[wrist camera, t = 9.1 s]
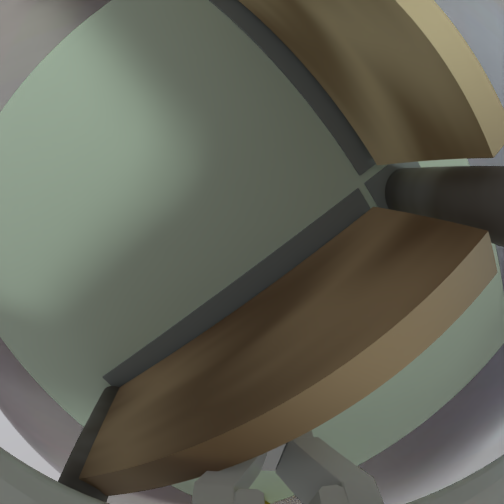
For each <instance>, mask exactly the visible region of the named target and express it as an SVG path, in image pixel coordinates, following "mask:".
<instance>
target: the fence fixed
mask: <svg viewBox="0 0 504 504" xmlns="http://www.w3.org/2000/svg"><path fill="white" fill-rule="evenodd" d="M238 1H240V2H241V3H242V4H243V5H244V6H245V7H247V8H248V9H249V10H250V11H251V12H252V13H253V14H254V15H255V16H257V17H258V18H259V19H260V20H261V21H262V22H263V23H264V24H265V25H266V26H267V27H268V28H269V29H270V30H271V31H272V32H273V33H274V34H275V35H276V36H277V37H278V38H279V39H280V40H281V41H282V42H283V43H284V44H285V45H286V46H287V47H288V48H289V49H290V50H291V51H292V52H293V53H294V54H295V56H296V57H297V58H298V59H299V60H300V61H301V62H302V63H303V64H304V66H305V67H306V68H307V69H308V70H309V71H310V73H311V74H312V75H313V76H314V77H315V78H316V80H317V81H318V82H319V83H320V85H321V86H322V87H323V88H324V90H325V91H326V92H327V93H328V95H329V96H330V97H331V98H332V100H333V101H334V102H335V104H336V105H337V106H338V108H339V109H340V110H341V112H342V113H343V114H344V116H345V117H346V119H347V120H348V121H349V123H350V124H351V126H352V127H353V129H354V130H355V132H356V133H357V134H358V136H359V137H360V139H361V140H362V142H363V144H364V145H365V147H366V148H367V150H368V151H369V153H370V154H371V156H372V158H373V159H374V161H375V163H376V164H377V165H386V164H396V163H406V162H418V161H431V160H446V159H466V158H494V157H495V155H496V154H497V153H498V152H499V150H500V149H501V148H502V147H503V145H504V109H503V107H502V105H501V102H500V100H499V98H498V96H497V94H496V92H495V90H494V88H493V86H492V84H491V82H490V81H489V79H488V77H487V75H486V73H485V72H484V70H483V68H482V66H481V65H480V63H479V61H478V60H477V58H476V56H475V55H474V53H473V52H472V50H471V49H470V47H469V46H468V44H467V43H466V41H465V40H464V38H463V37H462V35H461V34H460V33H459V31H458V30H457V29H456V27H455V26H454V25H453V23H452V22H451V21H450V19H449V18H448V17H447V16H446V14H445V13H444V12H443V11H442V9H441V8H440V7H439V6H438V5H437V4H436V2H435V1H434V0H238ZM385 199H386V203H387V206H388V208H389V209H390V210H396V211H401V212H406V213H411V214H417V215H421V216H426V217H431V218H436V219H440V220H445V221H449V222H454V223H458V224H462V225H467V226H471V227H475V228H479V229H483V230H487V231H488V232H489V235H490V239H491V243H492V244H496V245H499V246H502V247H504V166H444V167H419V168H402V169H398V170H396V171H394V172H393V173H392V174H391V175H390V176H389V178H388V180H387V183H386V186H385Z"/></svg>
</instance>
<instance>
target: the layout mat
mask: <svg viewBox="0 0 504 504" xmlns="http://www.w3.org/2000/svg"><path fill="white" fill-rule="evenodd" d="M444 166H470V165H469V162H468V160H467V158H466V159H446V160H431V161H418V162H406V163H396V164H386V165H377V164H376V163H375V161H374V159H373V158H372V156H371V154H370V153H369V151H368V150H367V148H366V147H365V145H364V144H363V142H362V140H361V139H360V137H359V136H358V134H357V133H356V132H355V130H354V129H353V127H352V126H351V124H350V123H349V121H348V120H347V119H346V117H345V116H344V114H343V113H342V112H341V110H340V109H339V108H338V106H337V105H336V104H335V102H334V101H333V100H332V98H331V97H330V96H329V95H328V93H327V92H326V91H325V90H324V88H323V87H322V86H321V85H320V83H319V82H318V81H317V80H316V78H315V77H314V76H313V75H312V74H311V73H310V71H309V70H308V69H307V68H306V67H305V66H304V64H303V63H302V62H301V61H300V60H299V59H298V58H297V57H296V56H295V54H294V53H293V52H292V51H291V50H290V49H289V48H288V47H287V46H286V45H285V44H284V43H283V42H282V41H281V40H280V39H279V38H278V37H277V36H276V35H275V34H274V33H273V32H272V31H271V30H270V29H269V28H268V27H267V26H266V25H265V24H264V23H263V22H262V21H261V20H260V19H259V18H258V17H257V16H255V15H254V14H253V13H252V12H251V11H250V10H249V9H248V8H247V7H245V6H244V5H243V4H242V3H241V2H240V1H238V0H111V1H110V2H109V3H107V4H106V5H105V6H103V7H102V8H100V9H99V10H98V11H96V12H95V13H94V14H93V15H91V16H90V17H89V18H88V19H86V20H85V21H84V22H83V23H81V24H80V25H79V26H78V27H77V28H76V29H74V30H73V31H72V32H71V33H70V34H69V35H68V36H67V37H66V38H64V39H63V40H62V41H61V42H60V43H59V44H58V45H57V46H56V47H55V48H54V49H53V50H52V51H51V52H50V53H49V54H48V55H47V56H46V57H45V58H44V59H43V60H42V61H41V62H40V63H39V65H38V66H37V67H36V68H35V69H34V70H33V71H32V72H31V74H30V75H29V76H28V77H27V78H26V79H25V81H24V82H23V83H22V84H21V85H20V87H19V88H18V89H17V90H16V92H15V93H14V94H13V96H12V97H11V98H10V100H9V101H8V102H7V104H6V105H5V107H4V108H3V109H2V111H1V112H0V337H1V339H2V340H3V342H4V343H5V344H6V346H7V347H8V348H9V350H10V351H11V352H12V353H13V355H14V356H15V357H16V359H17V360H18V361H19V362H20V363H21V365H22V366H23V367H24V368H25V369H26V371H27V372H28V373H29V374H30V375H31V376H32V377H33V378H34V380H35V381H36V382H37V383H38V384H39V385H40V386H41V387H42V388H43V389H44V390H45V391H46V392H47V393H48V394H49V395H50V396H51V397H52V398H53V399H54V400H55V401H56V402H57V403H58V404H59V405H60V406H61V407H62V408H63V409H64V410H65V411H66V412H67V413H68V414H69V415H71V416H72V417H73V418H74V419H75V420H76V421H77V422H79V423H80V424H81V425H82V426H83V427H84V426H85V424H86V422H87V420H88V419H89V417H90V415H91V413H92V411H93V409H94V407H95V405H96V403H97V402H98V400H99V398H100V396H101V394H102V392H103V391H104V389H105V388H106V387H108V386H117V387H121V386H123V385H124V384H126V383H127V382H129V381H130V380H132V379H134V378H135V377H137V376H138V375H140V374H142V373H143V372H145V371H146V370H148V369H149V368H151V367H152V366H154V365H155V364H157V363H159V362H160V361H162V360H163V359H165V358H166V357H168V356H169V355H171V354H172V353H174V352H175V351H177V350H178V349H180V348H181V347H183V346H184V345H186V344H187V343H189V342H190V341H192V340H193V339H195V338H196V337H198V336H199V335H201V334H202V333H204V332H205V331H206V330H208V329H209V328H211V327H212V326H214V325H215V324H217V323H218V322H219V321H221V320H222V319H224V318H225V317H227V316H228V315H230V314H231V313H232V312H234V311H235V310H237V309H238V308H239V307H241V306H242V305H244V304H245V303H247V302H248V301H249V300H251V299H252V298H254V297H255V296H256V295H258V294H259V293H261V292H262V291H263V290H265V289H266V288H267V287H269V286H270V285H272V284H273V283H274V282H276V281H277V280H278V279H280V278H281V277H282V276H284V275H285V274H287V273H288V272H289V271H291V270H292V269H293V268H295V267H296V266H297V265H299V264H300V263H301V262H303V261H304V260H305V259H307V258H308V257H309V256H311V255H312V254H313V253H315V252H316V251H317V250H319V249H320V248H321V247H323V246H324V245H325V244H326V243H328V242H329V241H330V240H332V239H333V238H334V237H336V236H337V235H338V234H339V233H341V232H342V231H343V230H345V229H346V228H347V227H348V226H350V225H351V224H352V223H353V222H355V221H356V220H357V219H359V218H360V217H361V216H362V215H364V214H365V213H366V212H367V211H369V210H370V209H371V208H372V207H379V208H385V209H389V208H388V206H387V203H386V199H385V186H386V183H387V180H388V178H389V176H390V175H391V174H392V173H393V172H394V171H396V170H398V169H402V168H419V167H444ZM491 244H492V243H491ZM492 248H493V252H494V257H495V262H496V267H497V274H496V275H495V276H494V278H493V279H492V280H491V281H490V283H489V284H488V285H487V286H486V288H485V289H484V290H483V291H482V292H481V294H480V295H479V296H478V297H477V298H476V299H475V300H474V302H473V303H472V304H471V305H470V306H469V307H468V308H467V309H466V310H465V312H464V313H463V314H462V315H461V316H460V317H459V318H458V319H457V320H456V321H455V322H454V323H453V324H452V325H451V326H450V327H449V328H448V329H447V330H446V331H445V332H444V333H443V334H442V335H441V336H440V337H439V338H438V339H437V340H436V341H435V342H434V343H432V344H431V345H430V346H429V347H428V348H427V349H426V350H425V351H424V352H422V353H421V354H420V355H419V356H418V357H417V358H416V359H414V360H413V361H412V362H411V363H410V364H408V365H407V366H406V367H405V368H403V369H402V370H401V371H400V372H398V373H397V374H396V375H395V376H393V377H392V378H391V379H389V380H388V381H387V382H386V383H384V384H383V385H381V386H380V387H379V388H377V389H376V390H375V391H373V392H372V393H370V394H369V395H367V396H366V397H365V398H363V399H362V400H360V401H359V402H357V403H356V404H354V405H353V406H351V407H350V408H348V409H346V410H345V411H343V412H342V413H340V414H338V415H337V416H335V417H333V418H332V419H330V420H328V421H327V422H325V423H323V424H322V425H320V426H318V427H316V428H314V429H313V430H312V433H313V437H319V438H320V439H321V440H323V441H324V442H325V443H327V444H328V445H329V446H330V447H332V448H333V449H334V450H336V451H337V452H338V453H340V454H341V455H342V456H344V457H345V458H346V459H348V460H349V461H351V462H352V463H353V464H355V465H356V466H358V465H360V464H362V463H363V462H365V461H367V460H369V459H370V458H372V457H374V456H375V455H377V454H379V453H380V452H382V451H383V450H385V449H387V448H388V447H390V446H391V445H393V444H394V443H396V442H397V441H399V440H400V439H402V438H403V437H404V436H406V435H407V434H409V433H410V432H411V431H413V430H414V429H415V428H417V427H418V426H419V425H421V424H422V423H423V422H425V421H426V420H427V419H428V418H430V417H431V416H432V415H433V414H435V413H436V412H437V411H438V410H439V409H440V408H442V407H443V406H444V405H445V404H446V403H447V402H448V401H450V400H451V399H452V398H453V397H454V396H455V395H456V394H457V393H458V392H459V391H460V390H461V389H463V388H464V387H465V386H466V385H467V384H468V383H469V382H470V381H471V380H472V379H473V378H474V377H475V376H476V374H477V373H478V372H479V371H480V370H481V369H482V368H483V367H484V366H485V365H486V364H487V363H488V361H489V360H490V359H491V358H492V357H493V356H494V355H495V353H496V352H497V351H498V350H499V349H500V347H501V346H502V345H503V344H504V292H503V284H502V278H501V272H500V266H499V261H498V256H497V251H496V246H495V244H492ZM199 478H200V477H199ZM199 478H195V479H192V480H188V481H184V482H181V483H177V484H173V485H171V486H173V487H175V488H177V489H179V490H181V491H183V492H185V493H187V494H189V495H191V496H193V489H194V482H195V481H196V480H197V479H199ZM249 489H258V490H260V491H261V492H263V493H264V500H265V501H267V502H269V503H270V504H271V503H274V502H277V501H280V500H283V499H285V498H288V497H291V496H293V495H295V494H294V493H293V492H292V491H291V490H290V489H289V488H288V487H287V485H286V484H285V483H284V482H283V481H282V480H281V478H280V477H279V476H278V475H277V474H276V472H275V471H261V472H260V474H259V475H258V477H257V478H256V479H255V481H254V482H253V483H252V485H251V486H250V487H249Z"/></svg>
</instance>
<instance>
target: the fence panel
mask: <svg viewBox="0 0 504 504" xmlns="http://www.w3.org/2000/svg"><path fill="white" fill-rule="evenodd" d="M496 274H497V267H496V262H495V257H494V252H493V248H492V244H491V239H490V235H489V232H488V231H487V230H483V229H479V228H475V227H471V226H467V225H462V224H458V223H454V222H449V221H445V220H440V219H436V218H431V217H426V216H421V215H417V214H411V213H406V212H401V211H396V210H390V209H385V208H379V207H372V208H371V209H370V210H369V211H367V212H366V213H365V214H364V215H362V216H361V217H360V218H359V219H357V220H356V221H355V222H353V223H352V224H351V225H350V226H348V227H347V228H346V229H345V230H343V231H342V232H341V233H339V234H338V235H337V236H336V237H334V238H333V239H332V240H330V241H329V242H328V243H326V244H325V245H324V246H323V247H321V248H320V249H319V250H317V251H316V252H315V253H313V254H312V255H311V256H309V257H308V258H307V259H305V260H304V261H303V262H301V263H300V264H299V265H297V266H296V267H295V268H293V269H292V270H291V271H289V272H288V273H287V274H285V275H284V276H282V277H281V278H280V279H278V280H277V281H276V282H274V283H273V284H272V285H270V286H269V287H267V288H266V289H265V290H263V291H262V292H261V293H259V294H258V295H256V296H255V297H254V298H252V299H251V300H249V301H248V302H247V303H245V304H244V305H242V306H241V307H239V308H238V309H237V310H235V311H234V312H232V313H231V314H230V315H228V316H227V317H225V318H224V319H222V320H221V321H219V322H218V323H217V324H215V325H214V326H212V327H211V328H209V329H208V330H206V331H205V332H204V333H202V334H201V335H199V336H198V337H196V338H195V339H193V340H192V341H190V342H189V343H187V344H186V345H184V346H183V347H181V348H180V349H178V350H177V351H175V352H174V353H172V354H171V355H169V356H168V357H166V358H165V359H163V360H162V361H160V362H159V363H157V364H155V365H154V366H152V367H151V368H149V369H148V370H146V371H145V372H143V373H142V374H140V375H138V376H137V377H135V378H134V379H132V380H130V381H129V382H127V383H126V384H124V385H123V386H121V387H117V386H108V387H106V388H105V389H104V391H103V392H102V394H101V396H100V398H99V400H98V402H97V403H96V405H95V407H94V409H93V411H92V413H91V415H90V417H89V419H88V420H87V422H86V424H85V426H84V428H83V430H82V432H81V434H80V436H79V438H78V440H77V442H76V444H75V446H74V448H73V450H72V452H71V455H70V457H69V459H68V461H67V463H66V465H65V467H64V469H63V472H62V474H61V476H60V478H59V480H58V482H59V483H61V484H63V485H65V486H68V487H70V488H72V489H74V490H76V491H79V492H81V493H83V494H86V495H88V496H90V497H93V498H96V499H98V500H101V501H104V502H107V498H108V496H111V495H119V494H127V493H133V492H139V491H145V490H150V489H155V488H160V487H164V486H169V485H173V484H177V483H181V482H184V481H188V480H192V479H195V478H199V477H201V476H202V475H203V474H204V473H205V472H206V471H220V470H223V469H226V468H229V467H232V466H234V465H237V464H240V463H242V462H245V461H247V460H250V459H252V458H255V457H257V456H259V455H262V454H264V453H266V452H268V451H271V450H273V449H275V448H277V447H279V446H281V445H283V444H286V443H288V442H290V441H292V440H294V439H296V438H298V437H300V436H301V435H303V434H305V433H307V432H309V431H311V430H313V429H314V428H316V427H318V426H320V425H322V424H323V423H325V422H327V421H328V420H330V419H332V418H333V417H335V416H337V415H338V414H340V413H342V412H343V411H345V410H346V409H348V408H350V407H351V406H353V405H354V404H356V403H357V402H359V401H360V400H362V399H363V398H365V397H366V396H367V395H369V394H370V393H372V392H373V391H375V390H376V389H377V388H379V387H380V386H381V385H383V384H384V383H386V382H387V381H388V380H389V379H391V378H392V377H393V376H395V375H396V374H397V373H398V372H400V371H401V370H402V369H403V368H405V367H406V366H407V365H408V364H410V363H411V362H412V361H413V360H414V359H416V358H417V357H418V356H419V355H420V354H421V353H422V352H424V351H425V350H426V349H427V348H428V347H429V346H430V345H431V344H432V343H434V342H435V341H436V340H437V339H438V338H439V337H440V336H441V335H442V334H443V333H444V332H445V331H446V330H447V329H448V328H449V327H450V326H451V325H452V324H453V323H454V322H455V321H456V320H457V319H458V318H459V317H460V316H461V315H462V314H463V313H464V312H465V310H466V309H467V308H468V307H469V306H470V305H471V304H472V303H473V302H474V300H475V299H476V298H477V297H478V296H479V295H480V294H481V292H482V291H483V290H484V289H485V288H486V286H487V285H488V284H489V283H490V281H491V280H492V279H493V278H494V276H495V275H496Z"/></svg>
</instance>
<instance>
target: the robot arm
mask: <svg viewBox="0 0 504 504" xmlns="http://www.w3.org/2000/svg"><path fill="white" fill-rule="evenodd" d="M261 471H275V472H276V474H277V475H278V476H279V477H280V478H281V480H282V481H283V482H284V483H285V484H286V485H287V487H288V488H289V489H290V490H291V491H292V492H293V493H294V494H295V496H296V497H297V498H298V499H299V500H300V501H301V502H302V503H303V504H384V502H383V500H382V497H381V495H380V492H379V490H378V488H377V485H376V483H375V480H374V478H373V477H372V476H371V475H369V474H368V473H366V472H365V471H363V470H362V469H360V468H359V467H358V466H356V465H355V464H353V463H352V462H351V461H349V460H348V459H346V458H345V457H344V456H342V455H341V454H340V453H338V452H337V451H336V450H334V449H333V448H332V447H330V446H329V445H328V444H327V443H325V442H324V441H323V440H321V439H320V438H319V437H313V433H312V430H311V431H309V432H307V433H305V434H303V435H301V436H300V437H298V438H296V439H294V440H292V441H290V442H288V443H286V444H283V445H281V446H279V447H277V448H275V449H273V450H271V451H268V452H266V453H264V454H262V455H259V456H257V457H255V458H252V459H250V460H247V461H245V462H242V463H240V464H237V465H234V466H232V467H229V468H226V469H223V470H220V471H206V472H205V473H204V474H203V475H202V476H201V477H200V478H199V479H197V480H196V481H195V482H194V489H193V496H192V503H191V504H265V501H264V493H263V492H261V491H260V490H258V489H249V487H250V486H251V485H252V483H253V482H254V481H255V479H256V478H257V477H258V475H259V474H260V472H261ZM0 504H109V503H106V502H104V501H101V500H98V499H96V498H93V497H90V496H88V495H86V494H83V493H81V492H79V491H76V490H74V489H72V488H70V487H68V486H65V485H63V484H61V483H59V482H57V481H55V480H53V479H51V478H49V477H48V476H46V475H44V474H42V473H40V472H39V471H37V470H35V469H33V468H32V467H30V466H28V465H26V464H25V463H23V462H22V461H20V460H19V459H17V458H16V457H14V456H13V455H11V454H10V453H8V452H7V451H5V450H4V449H2V448H1V447H0ZM406 504H504V455H502V456H501V457H499V458H498V459H496V460H495V461H493V462H491V463H490V464H488V465H487V466H485V467H483V468H482V469H480V470H478V471H476V472H475V473H473V474H471V475H469V476H467V477H466V478H464V479H462V480H460V481H458V482H456V483H454V484H452V485H450V486H448V487H446V488H443V489H441V490H439V491H437V492H434V493H432V494H430V495H427V496H425V497H422V498H420V499H417V500H415V501H412V502H409V503H406Z"/></svg>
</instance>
